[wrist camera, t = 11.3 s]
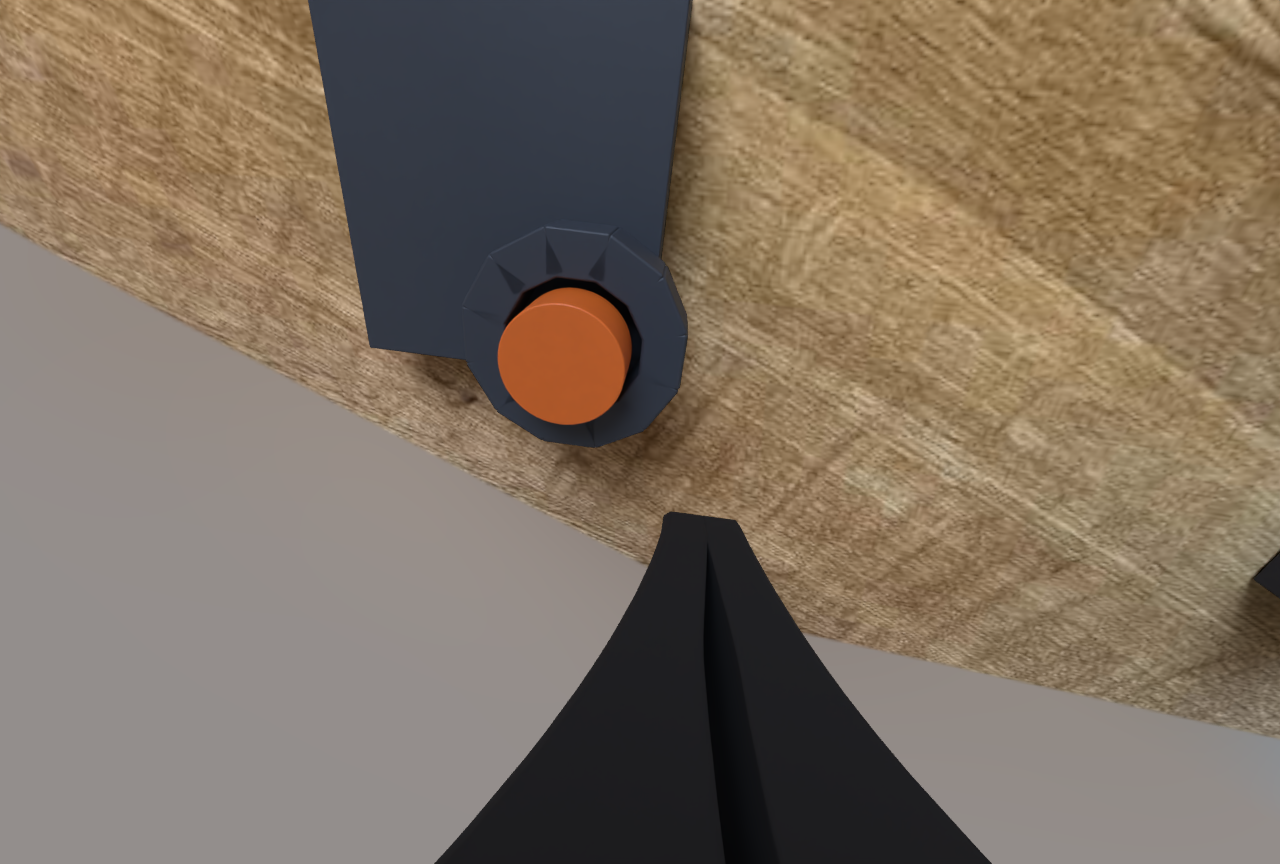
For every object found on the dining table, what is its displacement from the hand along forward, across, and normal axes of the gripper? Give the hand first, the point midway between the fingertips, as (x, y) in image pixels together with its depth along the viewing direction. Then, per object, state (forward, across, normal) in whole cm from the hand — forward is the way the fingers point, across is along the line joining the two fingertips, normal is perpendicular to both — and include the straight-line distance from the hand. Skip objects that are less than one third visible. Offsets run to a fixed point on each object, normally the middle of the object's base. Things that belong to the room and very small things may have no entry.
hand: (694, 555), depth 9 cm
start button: (+6, +4, -2) cm, 7 cm away
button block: (+9, +6, -5) cm, 12 cm away
